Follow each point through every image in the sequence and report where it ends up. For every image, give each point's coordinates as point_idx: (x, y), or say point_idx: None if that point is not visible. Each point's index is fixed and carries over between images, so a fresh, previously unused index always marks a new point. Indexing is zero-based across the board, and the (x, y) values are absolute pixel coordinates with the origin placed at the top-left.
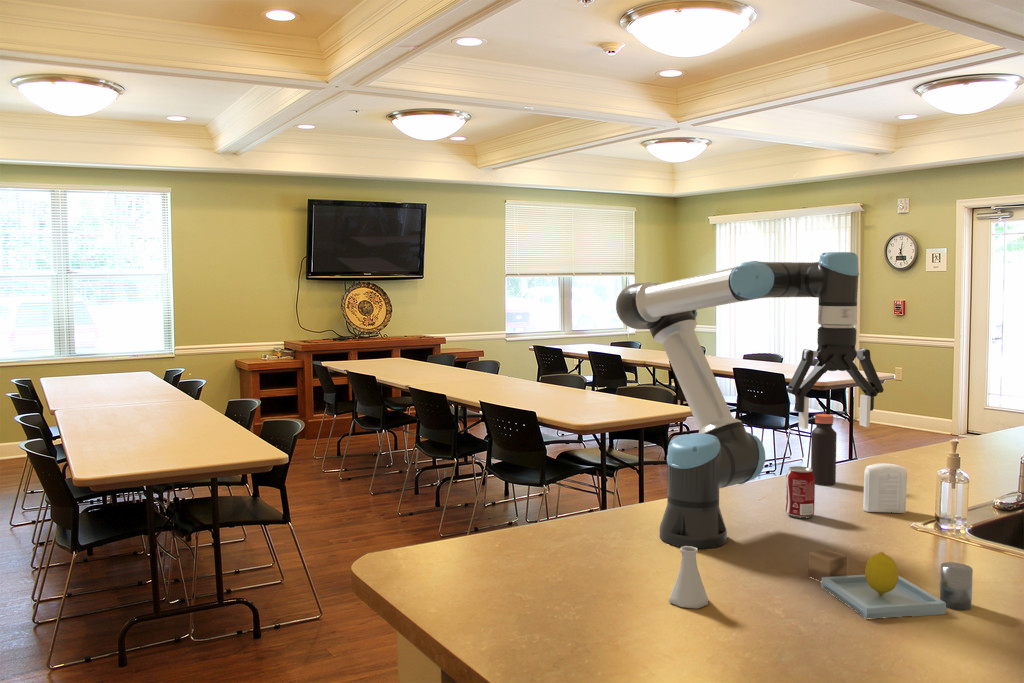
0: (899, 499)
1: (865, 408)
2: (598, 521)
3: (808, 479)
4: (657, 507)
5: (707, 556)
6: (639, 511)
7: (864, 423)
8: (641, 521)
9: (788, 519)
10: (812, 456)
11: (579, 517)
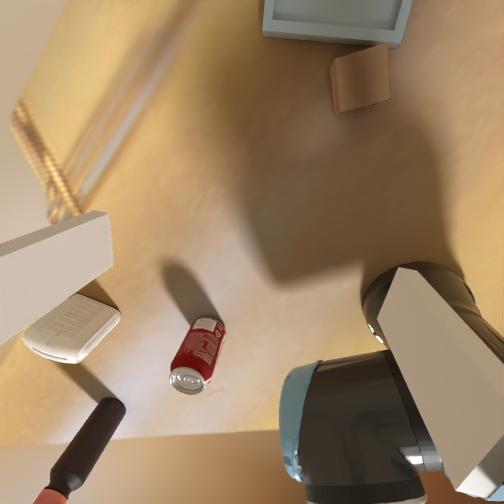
0: (70, 305)
1: (34, 259)
2: None
3: (189, 355)
4: None
5: (452, 235)
6: None
7: (100, 231)
8: None
9: (232, 322)
10: (105, 444)
11: None
